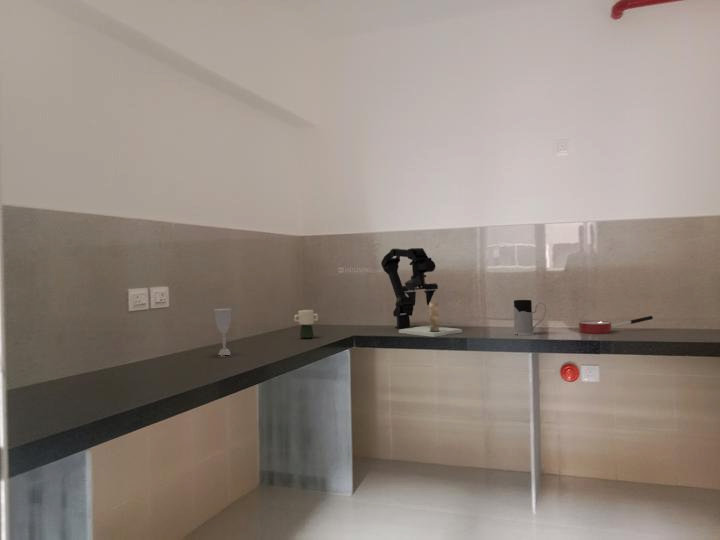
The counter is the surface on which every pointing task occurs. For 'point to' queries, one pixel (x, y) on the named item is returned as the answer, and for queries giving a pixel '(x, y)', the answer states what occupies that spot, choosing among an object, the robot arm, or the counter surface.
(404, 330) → the seat board
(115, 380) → the counter surface
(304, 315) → the trophy cup
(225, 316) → the chalice
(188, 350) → the counter surface
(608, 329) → the frying pan
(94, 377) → the counter surface
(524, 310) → the grey mug
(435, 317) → the beech peg
